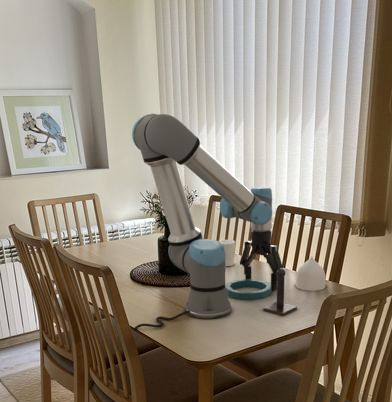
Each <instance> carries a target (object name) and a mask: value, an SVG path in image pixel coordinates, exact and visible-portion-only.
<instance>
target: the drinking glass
mask: <svg viewBox="0 0 392 402" xmlns="http://www.w3.org/2000/svg"><path fill="white" fill-rule="evenodd" d="M217 241H218V242H220V243H221V244H222V245H223V246H224V249H225V256H226V258H225V267H232V266H234V265H235V257H236V240H233V239H220V240H217Z"/></svg>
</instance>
